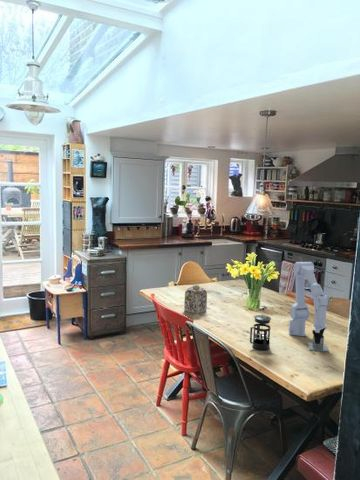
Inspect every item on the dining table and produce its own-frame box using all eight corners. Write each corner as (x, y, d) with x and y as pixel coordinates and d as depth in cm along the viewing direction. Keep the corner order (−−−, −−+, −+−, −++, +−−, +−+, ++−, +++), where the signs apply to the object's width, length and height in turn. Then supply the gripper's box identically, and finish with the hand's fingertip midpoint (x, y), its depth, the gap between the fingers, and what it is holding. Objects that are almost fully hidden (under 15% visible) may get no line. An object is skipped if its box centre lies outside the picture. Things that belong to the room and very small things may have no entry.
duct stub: (309, 350, 218) (309, 341, 217) (307, 343, 227) (308, 334, 227) (328, 352, 215) (329, 343, 215) (326, 345, 225) (327, 336, 224)
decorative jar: (197, 314, 274) (198, 288, 272) (183, 311, 281) (184, 285, 279) (207, 310, 284) (208, 285, 281) (193, 307, 290) (194, 282, 288)
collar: (322, 349, 218) (323, 338, 217) (311, 347, 220) (312, 336, 219) (323, 345, 222) (324, 335, 222) (313, 343, 225) (314, 333, 224)
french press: (266, 343, 226) (268, 303, 223) (273, 350, 217) (276, 308, 214) (246, 344, 223) (248, 304, 220) (253, 351, 214) (255, 309, 211)
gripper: (326, 322, 211) (324, 347, 213) (329, 315, 224) (328, 338, 225) (312, 320, 214) (310, 344, 216) (316, 312, 227) (314, 336, 229)
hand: (318, 341), depth 221 cm, fingers open, 7 cm apart
